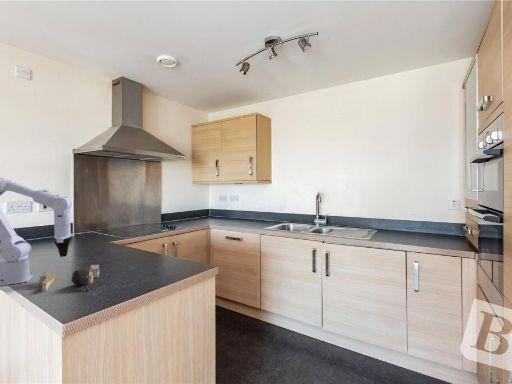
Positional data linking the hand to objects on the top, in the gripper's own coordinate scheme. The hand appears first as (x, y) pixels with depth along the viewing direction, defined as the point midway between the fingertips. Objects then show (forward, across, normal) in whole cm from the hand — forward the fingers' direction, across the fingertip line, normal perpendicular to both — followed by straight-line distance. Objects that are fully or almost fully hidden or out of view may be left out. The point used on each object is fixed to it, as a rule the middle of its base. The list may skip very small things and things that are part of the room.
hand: (63, 256), depth 117 cm
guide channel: (+9, -8, -4) cm, 12 cm away
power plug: (+9, -19, -9) cm, 23 cm away
